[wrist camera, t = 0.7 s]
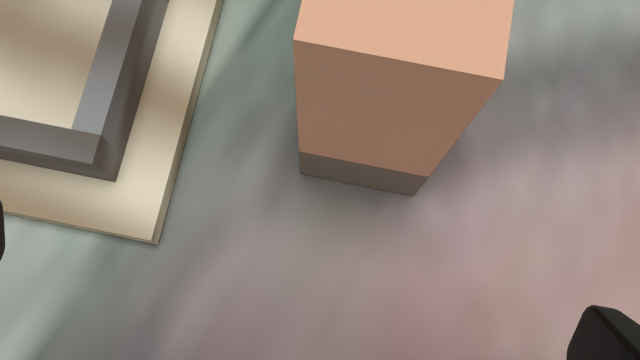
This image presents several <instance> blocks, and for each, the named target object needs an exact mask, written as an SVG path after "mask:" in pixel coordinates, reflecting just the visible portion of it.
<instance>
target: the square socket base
mask: <svg viewBox="0 0 640 360" xmlns="http://www.w3.org/2000/svg"><path fill="white" fill-rule="evenodd" d="M222 4H223V0H0V200H1V202H2V205H3V213H6V214H10V215H15V216H20V217H25V218H30V219H35V220H40V221H45V222H50V223H54V224H59V225H64V226H69V227H74V228H79V229H84V230H89V231H93V232H98V233H103V234H108V235H113V236H118V237H123V238H128V239H132V240H137V241H142V242H147V243H152V244H157V245H158V242H159V238H160V235H161V231H162V227H163V223H164V220H165V216H166V212H167V209H168V205H169V201H170V197H171V194H172V190H173V186H174V182H175V179H176V175H177V171H178V168H179V164H180V160H181V156H182V153H183V149H184V145H185V142H186V138H187V134H188V130H189V127H190V123H191V119H192V116H193V112H194V108H195V104H196V101H197V97H198V93H199V90H200V86H201V82H202V78H203V75H204V71H205V67H206V64H207V60H208V56H209V52H210V49H211V45H212V41H213V37H214V34H215V30H216V26H217V23H218V19H219V15H220V11H221V8H222Z"/></svg>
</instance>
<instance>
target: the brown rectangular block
mask: <svg viewBox="0 0 640 360" xmlns="http://www.w3.org/2000/svg"><path fill="white" fill-rule="evenodd" d="M513 6H514V0H302V3H301V7H300V12H299V16H298V20H297V25H296V29H295V33H294V37H293V48H294V67H295V86H296V104H297V123H298V142H299V161H300V174H303V175H308V176H313V177H318V178H323V179H328V180H333V181H338V182H343V183H348V184H353V185H358V186H363V187H368V188H373V189H378V190H383V191H388V192H393V193H398V194H403V195H408V196H414V195H415V194H416V192H417V191H418V190H419V188H420V187H421V186H422V185H423V183H424V182H425V181H426V179H427V178H428V177H429V175H430V174H431V173H432V172H433V170H434V169H435V168H436V166H437V165H438V164H439V163H440V161H441V160H442V159H443V157H444V156H445V155H446V153H447V152H448V151H449V150H450V148H451V147H452V146H453V144H454V143H455V142H456V141H457V139H458V138H459V137H460V135H461V134H462V133H463V132H464V130H465V129H466V128H467V126H468V125H469V124H470V122H471V121H472V120H473V119H474V117H475V116H476V115H477V113H478V112H479V111H480V110H481V108H482V107H483V106H484V104H485V103H486V102H487V100H488V99H489V98H490V97H491V95H492V94H493V93H494V91H495V90H496V89H497V88H498V86H499V85H500V84H501V82H502V81H503V79H504V72H505V65H506V57H507V50H508V43H509V35H510V28H511V20H512V13H513Z"/></svg>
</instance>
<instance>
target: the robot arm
mask: <svg viewBox="0 0 640 360" xmlns="http://www.w3.org/2000/svg"><path fill="white" fill-rule="evenodd" d="M4 250H5V231H4V214H3V205H2V202H1V200H0V260H1V259H2V256H3V253H4ZM567 360H640V325H639V324H638V323H636V322H635V321H633V320H632V319H630V318H629V317H628V316H626V315H625V314H623V313H622V312H620V311H619V310H616V309H613V308H608V307H602V306H597V305H591V306H589V307H587V308H586V309H585V311H584V312H583V314H582V316H581V319H580V321H579V323H578V325H577V328H576V330H575V332H574V334H573V336H572V339H571V341H570V343H569V346H568V349H567Z"/></svg>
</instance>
